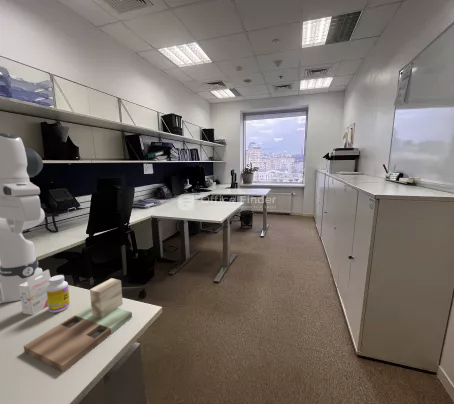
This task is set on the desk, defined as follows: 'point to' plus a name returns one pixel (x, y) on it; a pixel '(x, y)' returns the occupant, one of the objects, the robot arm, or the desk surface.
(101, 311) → the birch block
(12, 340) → the desk surface
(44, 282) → the ink cartridge box
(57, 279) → the supplement bottle
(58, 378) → the desk surface
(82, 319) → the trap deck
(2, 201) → the robot arm
